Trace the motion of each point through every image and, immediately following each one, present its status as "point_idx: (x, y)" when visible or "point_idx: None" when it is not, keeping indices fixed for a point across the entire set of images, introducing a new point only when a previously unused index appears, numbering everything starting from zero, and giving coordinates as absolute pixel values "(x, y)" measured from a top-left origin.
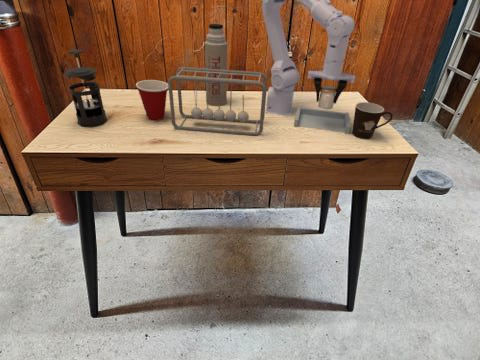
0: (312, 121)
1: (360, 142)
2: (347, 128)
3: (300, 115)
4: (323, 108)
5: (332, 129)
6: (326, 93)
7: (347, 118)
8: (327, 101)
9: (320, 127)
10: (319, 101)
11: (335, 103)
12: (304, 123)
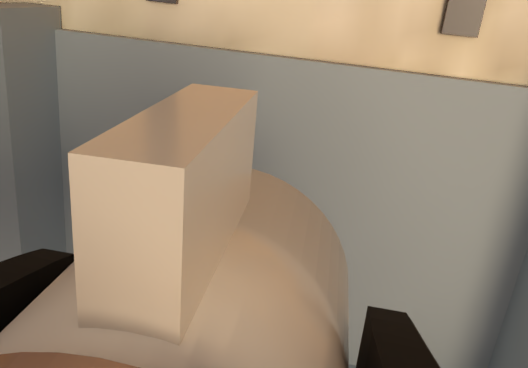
0: (370, 235)
1: None
2: (4, 5)
3: (481, 356)
4: (270, 175)
5: (175, 76)
6: (173, 366)
7: (5, 222)
8: (178, 111)
9: (298, 105)
10: (346, 313)
11: (41, 249)
12: (470, 179)
